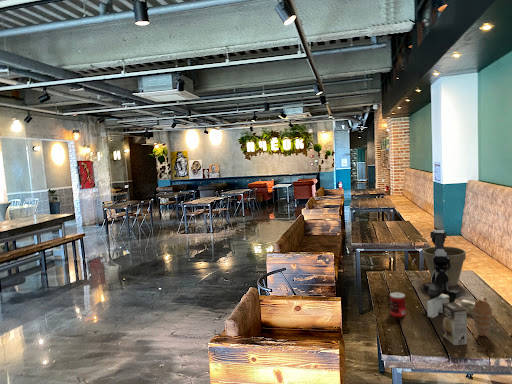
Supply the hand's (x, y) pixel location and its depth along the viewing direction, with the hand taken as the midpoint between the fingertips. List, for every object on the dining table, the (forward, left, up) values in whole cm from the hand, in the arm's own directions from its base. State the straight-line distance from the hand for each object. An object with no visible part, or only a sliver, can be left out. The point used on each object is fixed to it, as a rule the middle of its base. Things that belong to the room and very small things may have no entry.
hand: (441, 306), depth 208 cm
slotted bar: (0, -4, -3) cm, 5 cm away
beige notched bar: (+5, +8, -3) cm, 10 cm away
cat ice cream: (+27, -13, -3) cm, 30 cm away
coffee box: (+21, -26, -3) cm, 34 cm away
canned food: (-13, -20, -3) cm, 24 cm away
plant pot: (-23, +43, -3) cm, 49 cm away
